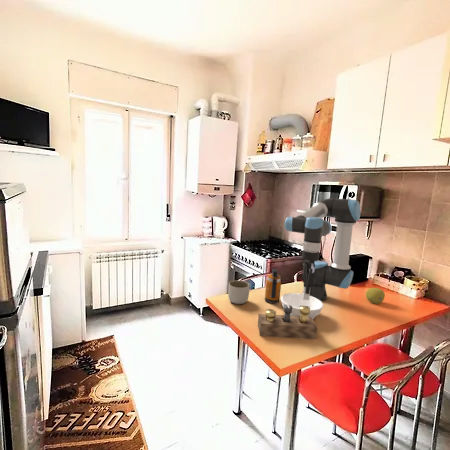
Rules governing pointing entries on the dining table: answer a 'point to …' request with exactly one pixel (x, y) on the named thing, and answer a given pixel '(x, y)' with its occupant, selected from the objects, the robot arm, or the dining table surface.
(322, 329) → the dining table surface
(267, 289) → the canister
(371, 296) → the fruit
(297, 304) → the bowl
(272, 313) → the knob
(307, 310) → the knob
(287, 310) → the pot knob
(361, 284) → the dining table surface
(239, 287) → the planter
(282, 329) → the mount
